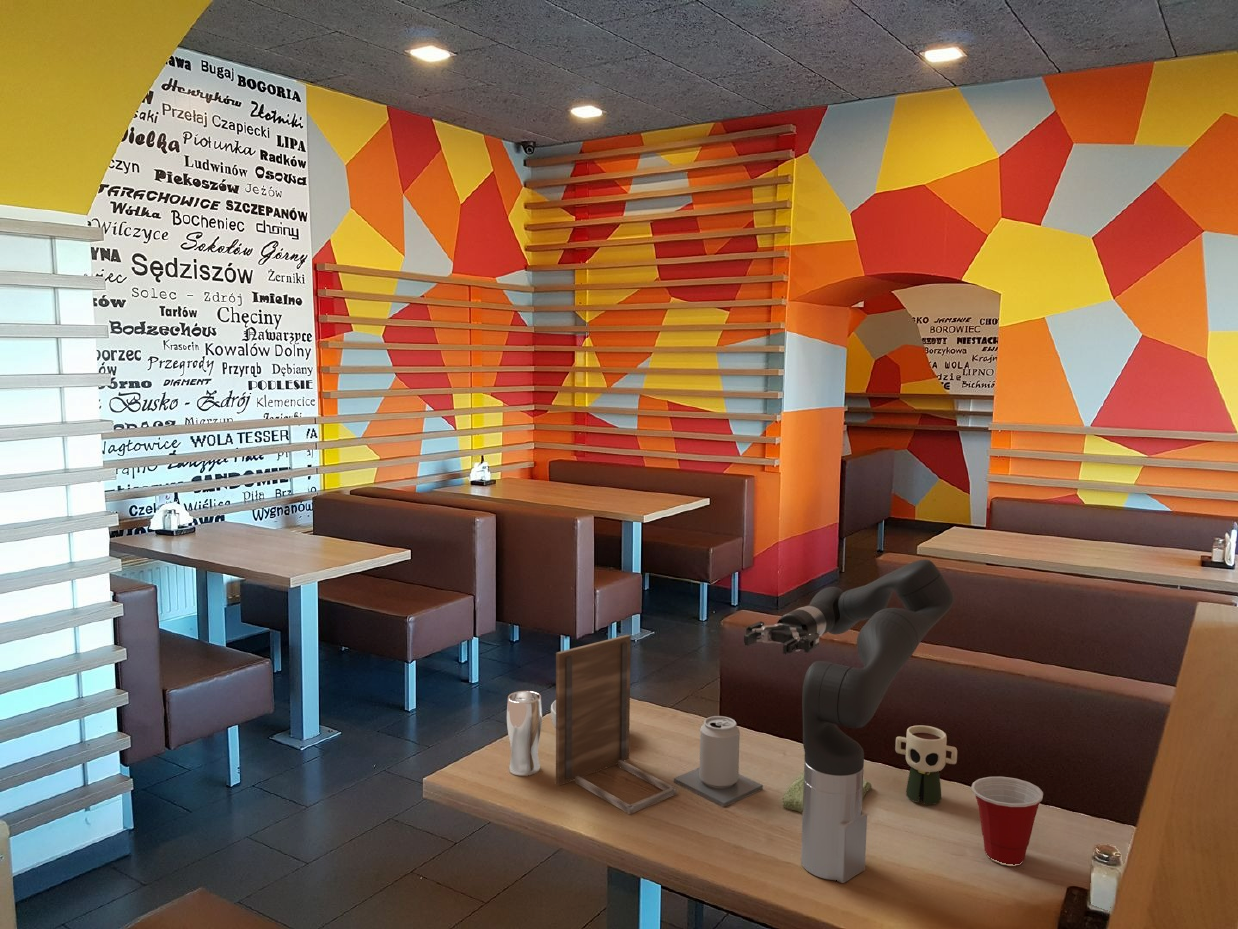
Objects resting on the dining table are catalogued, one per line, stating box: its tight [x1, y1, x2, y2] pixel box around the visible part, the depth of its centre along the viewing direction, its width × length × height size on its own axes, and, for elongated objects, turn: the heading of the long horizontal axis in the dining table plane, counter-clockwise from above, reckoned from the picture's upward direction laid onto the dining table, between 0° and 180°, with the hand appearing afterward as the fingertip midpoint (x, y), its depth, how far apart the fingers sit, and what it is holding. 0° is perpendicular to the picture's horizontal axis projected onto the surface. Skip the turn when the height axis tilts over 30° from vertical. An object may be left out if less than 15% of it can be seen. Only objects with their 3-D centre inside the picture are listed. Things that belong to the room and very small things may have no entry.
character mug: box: [894, 725, 958, 805], centre depth 165 cm, size 11×7×13 cm, turn 63°
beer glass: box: [506, 690, 543, 777], centre depth 176 cm, size 7×7×15 cm
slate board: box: [673, 766, 764, 808], centre depth 171 cm, size 13×11×1 cm
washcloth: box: [781, 770, 872, 814], centre depth 166 cm, size 13×18×3 cm
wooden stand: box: [555, 634, 678, 815], centre depth 168 cm, size 18×18×26 cm
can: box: [699, 715, 741, 788], centre depth 170 cm, size 8×8×12 cm
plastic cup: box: [971, 776, 1044, 865], centre depth 146 cm, size 11×11×12 cm
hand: (765, 645), depth 175 cm, fingers open, 8 cm apart
